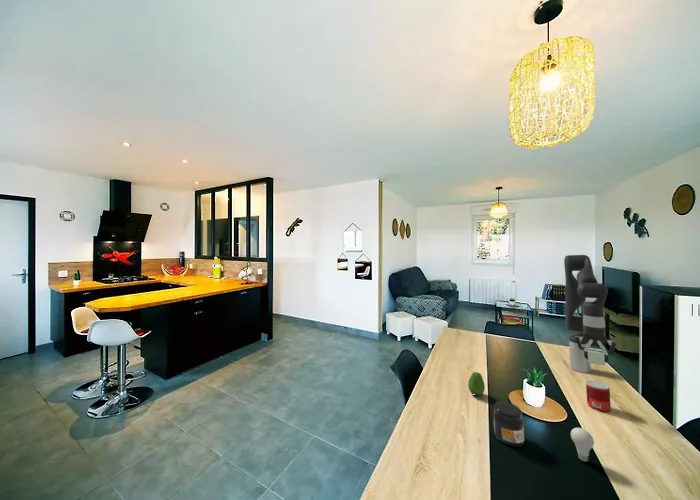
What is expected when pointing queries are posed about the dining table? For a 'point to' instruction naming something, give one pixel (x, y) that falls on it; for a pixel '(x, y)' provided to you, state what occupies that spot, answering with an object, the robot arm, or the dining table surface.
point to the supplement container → (508, 424)
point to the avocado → (476, 384)
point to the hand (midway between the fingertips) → (596, 360)
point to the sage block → (596, 356)
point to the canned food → (598, 396)
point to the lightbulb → (582, 442)
